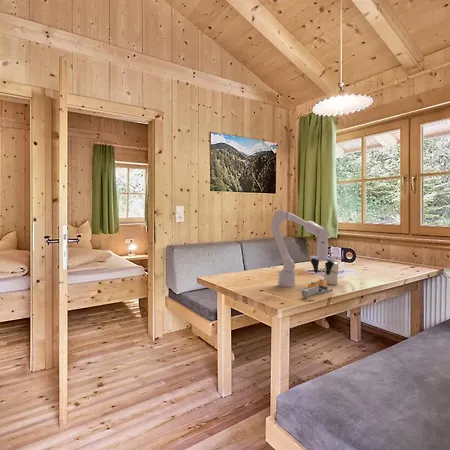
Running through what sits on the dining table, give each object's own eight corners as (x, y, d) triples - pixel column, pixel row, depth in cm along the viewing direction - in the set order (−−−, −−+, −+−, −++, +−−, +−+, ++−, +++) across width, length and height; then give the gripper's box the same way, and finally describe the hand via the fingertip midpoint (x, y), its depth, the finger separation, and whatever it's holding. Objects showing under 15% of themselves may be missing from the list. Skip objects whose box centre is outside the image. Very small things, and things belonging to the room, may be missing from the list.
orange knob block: (322, 289, 173) (322, 280, 172) (316, 287, 176) (316, 279, 175) (326, 288, 175) (327, 279, 175) (320, 286, 178) (320, 278, 178)
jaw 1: (314, 292, 162) (314, 284, 161) (307, 291, 165) (308, 282, 164) (318, 291, 164) (319, 282, 164) (312, 290, 167) (312, 281, 167)
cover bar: (307, 298, 151) (307, 291, 150) (301, 297, 153) (302, 290, 153) (321, 293, 159) (322, 287, 158) (316, 292, 161) (316, 285, 161)
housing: (318, 296, 158) (318, 292, 158) (297, 291, 168) (297, 287, 168) (333, 291, 167) (333, 287, 167) (312, 287, 177) (312, 283, 177)
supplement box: (323, 284, 184) (324, 262, 183) (324, 281, 191) (325, 260, 190) (337, 285, 181) (337, 263, 180) (337, 282, 188) (337, 261, 187)
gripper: (338, 250, 171) (337, 274, 172) (315, 247, 182) (315, 270, 183) (331, 251, 167) (330, 276, 168) (308, 248, 178) (307, 272, 179)
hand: (322, 273), depth 175 cm, fingers open, 7 cm apart
